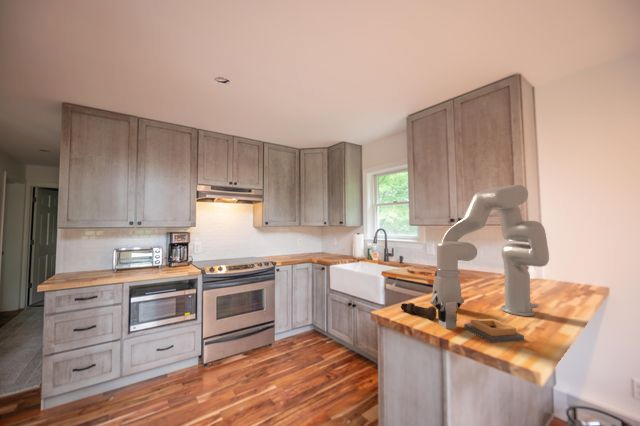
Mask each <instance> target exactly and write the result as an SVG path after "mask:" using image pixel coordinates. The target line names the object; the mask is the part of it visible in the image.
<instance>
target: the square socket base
mask: <svg viewBox="0 0 640 426" xmlns="http://www.w3.org/2000/svg"><path fill="white" fill-rule="evenodd" d="M464 328H465V329H466V330H468V331H470V332H471V331H472V332H471V333H473V332H474V334H475V333H476V334H475V335H477V334H478V335H477V336H479V335H480V336H479V337H481V336H482V337H483V339H484V338H485V339H484V340H486V339H487V341H488V340H489V341H488V342H490V341H491V342H490V343H503V342H517V341H525V335H524V334H521V333H519V332H517V327H513V326H511V325H509V324H507V323H504V322H502V321H500V320H498V319H495V318H480V319H479V318H478V319H470V323H464ZM482 337H481V338H482Z"/></svg>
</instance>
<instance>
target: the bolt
mask: <svg viewBox="0 0 640 426" xmlns="http://www.w3.org/2000/svg"><path fill="white" fill-rule="evenodd" d="M400 309H401V310H402V311H405V312H407V313H408V314H409V315H413V314H417V315H421V316H424V317H427V318H428V320H430V321H434V320H435V319H436V318H437V316H438V311H437V308H436V307H435V306H434V305H433V306H429V307H423V306H418V305H415V303H413V302H408V303H405V302H404V303H401V305H400Z"/></svg>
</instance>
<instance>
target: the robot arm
mask: <svg viewBox="0 0 640 426" xmlns="http://www.w3.org/2000/svg"><path fill="white" fill-rule="evenodd" d="M528 198H529V190H528V189H527V188H526V186H524V185H522V184H512V185H505V186H504V185H503V186H496V187H495V186H494V187H489V188H486V189H485V190H480V191H478V192H475V194H474V195H473V196H472V197H471V200H470V203H469V205H468V207H467V209H466V211H465V213H464V215H463V217H462V218H461V219H460V220H458V221H457V222H456V223H455V224H454V225H452V226H451V227H449V229H447V231H446V232H445V234H444V236H443V238H442V240H441V242H438V243H437V244H436V271H437V276H435V275H434V279H433V285H432V298H431V299H430V302H429V303H430V304H431V305H433V307H435V308H436V310H437V317H438V321H439V320H440V321H442V322H445V312H444V311H443V310H444V305H445V303H446V302H456V322H457V321H458V320H457V319H458V318H457V317H458V316H457V315H458V314H457V312H458V311H459V309H460V307H461V305H463V304H465V300H464V298H463V297H462V286H461V281H460V278H459V274H461V271H460V270H459V266H458V265H459V264H458V263H459V262H458V261H462V262H470V261H473V260H475V259H476V258H477V255H478V249H477V247H476V246H475V244H473V243H472V242H468V241H467V242H466V241H459V240H460V239H461V238H463V237H464V236H466V235H468V234H471V233H474V232H476V231H479V230H481V229H483V228H484V227H485V226H486V223H487V221H488V219H489V216H490V214H491V212H492V211H493V210H494V211H497V214H498V218H499V222H500V229H501V234H502V237H503V239H504V240H506V241H510V242H513V243H507V244H505V245H503V246H502V247H501V256H502V261H503V266H504V267H503V268H504V269H503V270H504V305H501V306H500V309H501V311H503V312H505V313H508V314H509V315H510V314H511V315H515V316H522V317H533V316H535V315H536V312H535V311H534V310H533V309H536V308H537V309H538V308H539V307H540V306H539V304H538V303H532V302H531V275H530V272H529V270H528V269H527V267H526V266H530V267H539V268H542V267H545V266H547V265H548V263H549V261H550V252H549V247H548V239H547V233H546V229H545V227H544V226H543V224H542V223H541V222H539V221H537V220H524V219H523V215H522V210H521V208H520V207H519V206H520V205H521V206H522V205H523V204H524V203H526V201H527V200H528ZM514 242H515V243H514ZM517 242H518V243H517ZM519 242H521V243H519ZM527 243H528V244H527ZM436 301H438V303H436ZM440 306H441V307H440Z"/></svg>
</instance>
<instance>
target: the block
mask: <svg viewBox="0 0 640 426" xmlns="http://www.w3.org/2000/svg"><path fill="white" fill-rule="evenodd" d="M440 307H441V306H440ZM443 311H444V312H445V322H442V321H440V320H439V319H438V325H439V326H441V327H443V328H444V329H457V321H456V302H446V303H445V305H444V310H443Z"/></svg>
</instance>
